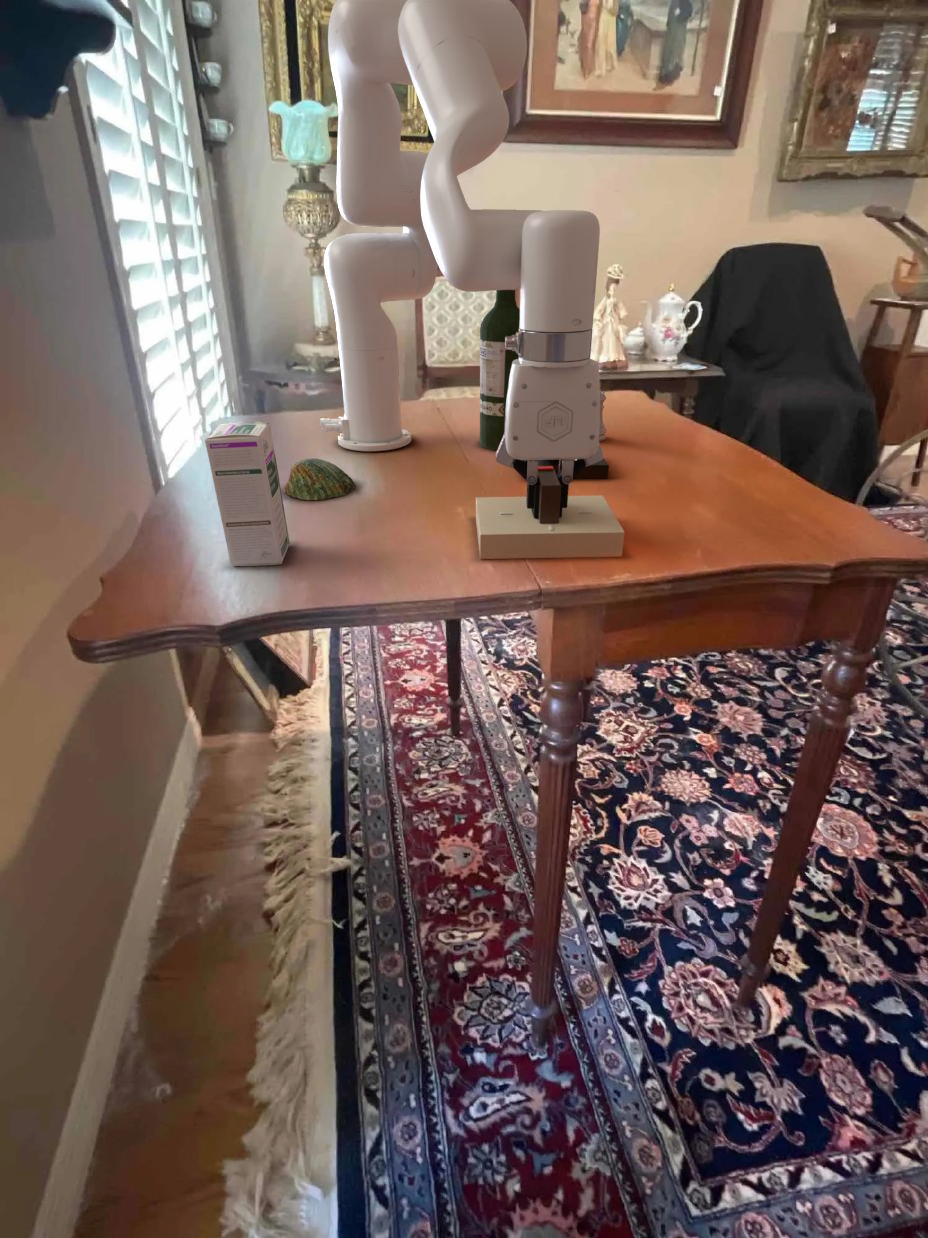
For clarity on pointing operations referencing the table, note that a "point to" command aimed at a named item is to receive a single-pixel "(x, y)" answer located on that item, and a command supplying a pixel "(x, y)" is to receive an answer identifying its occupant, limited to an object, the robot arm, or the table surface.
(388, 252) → the robot arm
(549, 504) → the handle
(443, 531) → the table surface
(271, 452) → the syrup box
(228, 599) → the table surface
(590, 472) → the button block
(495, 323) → the wine bottle
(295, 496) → the seashell
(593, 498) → the panel
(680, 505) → the table surface
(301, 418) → the table surface
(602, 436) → the rook chess piece
